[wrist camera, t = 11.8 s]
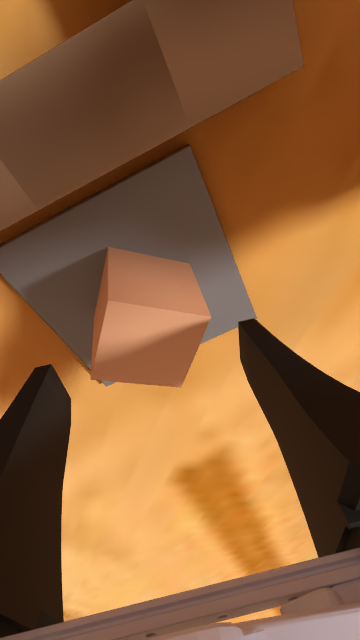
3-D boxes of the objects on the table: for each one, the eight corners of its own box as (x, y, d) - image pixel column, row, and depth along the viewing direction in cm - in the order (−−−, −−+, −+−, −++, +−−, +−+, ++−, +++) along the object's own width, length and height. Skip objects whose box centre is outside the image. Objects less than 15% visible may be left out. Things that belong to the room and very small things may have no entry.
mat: (254, 314, 20) (256, 318, 20) (106, 381, 21) (106, 386, 21) (188, 144, 14) (189, 145, 14) (-14, 252, 15) (-17, 256, 15)
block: (189, 263, 17) (211, 316, 13) (167, 326, 19) (181, 387, 15) (108, 246, 15) (108, 300, 12) (94, 316, 18) (90, 379, 14)
